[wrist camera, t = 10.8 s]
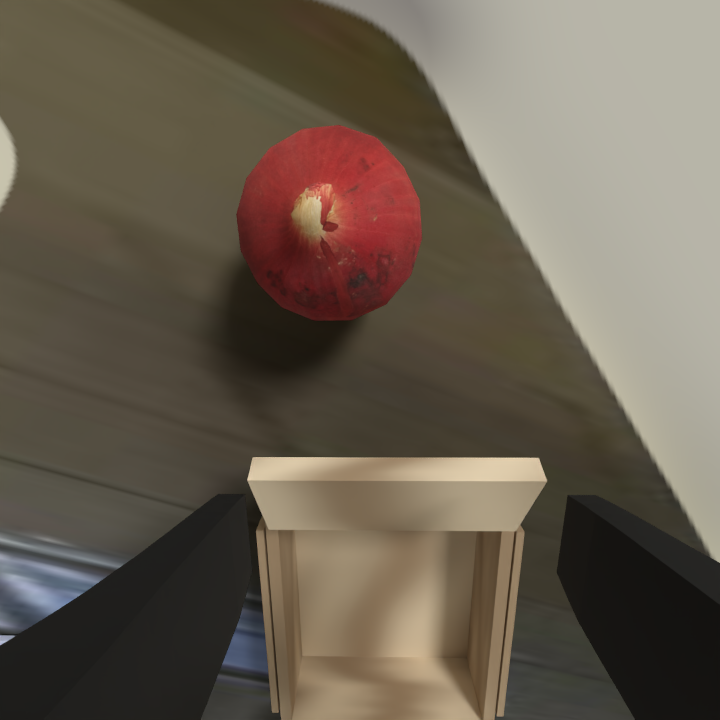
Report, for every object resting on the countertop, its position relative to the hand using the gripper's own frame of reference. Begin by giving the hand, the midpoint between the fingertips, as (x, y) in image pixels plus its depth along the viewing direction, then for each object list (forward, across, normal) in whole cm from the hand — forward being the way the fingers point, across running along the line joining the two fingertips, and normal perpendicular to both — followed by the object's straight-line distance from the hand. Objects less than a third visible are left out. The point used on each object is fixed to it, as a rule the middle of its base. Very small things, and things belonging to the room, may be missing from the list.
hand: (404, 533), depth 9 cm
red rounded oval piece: (+10, +2, -7) cm, 12 cm away
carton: (+10, 0, +10) cm, 14 cm away
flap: (+4, 0, +2) cm, 4 cm away
